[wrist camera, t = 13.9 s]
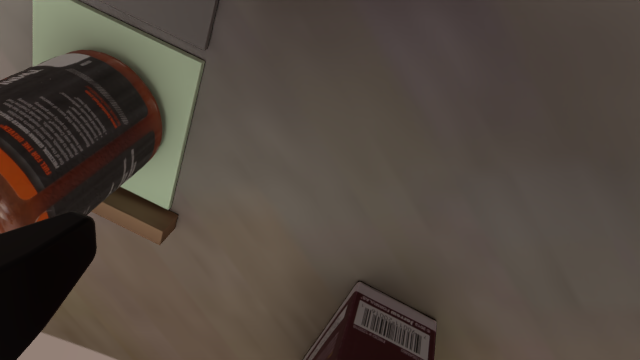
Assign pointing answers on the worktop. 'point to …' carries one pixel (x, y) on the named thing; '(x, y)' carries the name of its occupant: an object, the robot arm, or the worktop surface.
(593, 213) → the worktop surface
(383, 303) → the supplement box
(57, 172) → the supplement bottle
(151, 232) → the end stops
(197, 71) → the pad
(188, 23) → the pads
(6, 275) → the robot arm
